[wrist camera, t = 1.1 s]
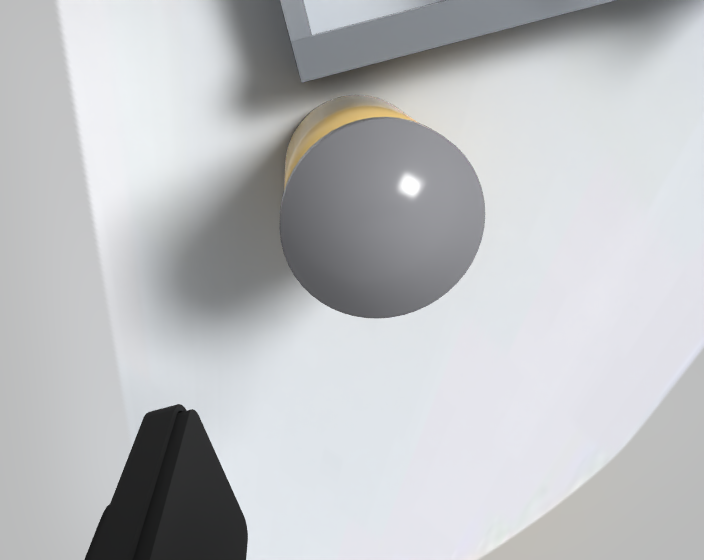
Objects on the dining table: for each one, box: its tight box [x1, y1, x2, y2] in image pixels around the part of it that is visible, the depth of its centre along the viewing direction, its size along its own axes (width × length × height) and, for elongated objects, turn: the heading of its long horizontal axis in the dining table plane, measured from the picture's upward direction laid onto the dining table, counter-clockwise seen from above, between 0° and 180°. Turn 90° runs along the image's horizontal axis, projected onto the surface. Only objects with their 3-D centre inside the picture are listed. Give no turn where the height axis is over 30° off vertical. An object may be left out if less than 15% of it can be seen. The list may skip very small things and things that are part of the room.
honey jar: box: [280, 95, 485, 318], centre depth 21 cm, size 7×7×8 cm
